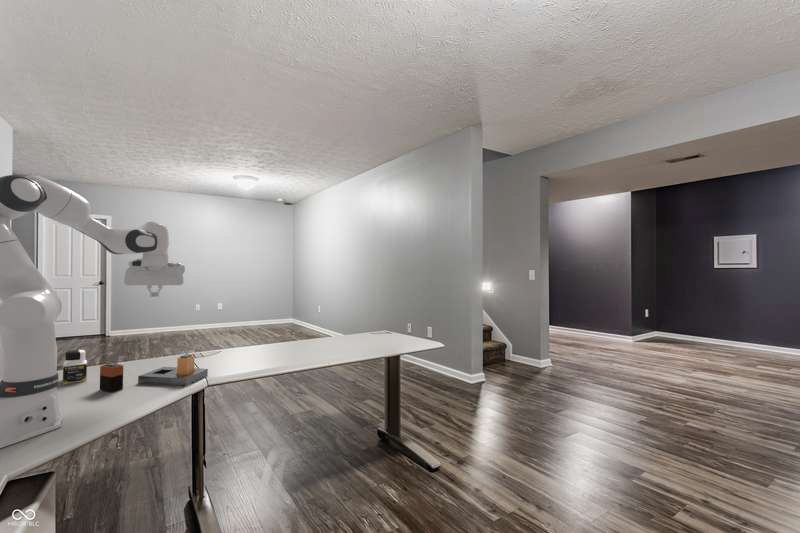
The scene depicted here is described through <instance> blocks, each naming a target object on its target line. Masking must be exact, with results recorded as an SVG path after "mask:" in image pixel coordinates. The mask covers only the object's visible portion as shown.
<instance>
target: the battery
mask: <svg viewBox="0 0 800 533" xmlns="http://www.w3.org/2000/svg"><path fill="white" fill-rule="evenodd" d="M99 368H100V370H99V390H100V391H103V392H107V393H114V392H117V391H121V390H123V389H124V365H123V364H119V362H111V361H110V362H106V363H105V364H103V365H100V366H99Z"/></svg>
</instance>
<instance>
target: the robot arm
mask: <svg viewBox="0 0 800 533" xmlns="http://www.w3.org/2000/svg"><path fill="white" fill-rule="evenodd" d="M32 211H33V212H36V213H39V214H40V215H42V216H44V217H46V218H48V219H50V220H52V221H55V222H57V223H60V224H62V225H65V226H68V227H70V228H72V229H73V230H76V231H78V232H79V233H81V234H83V235H86V236H87V237H89V238H90V239H93V240H95V241H96V242H98V243H99V244H100V245H101V246H102V247H103V248H104V249H105V250H106V251H107V252H109V253H110V254H113V255H124V254H126V255H127V254H129V255H130V254H135V255H137V254H142V257H141V258H137V259H134V260H129V261H128V266H129V267H127V268H126V270H125V273H124V279H123V280H124V281H123V282H124V284H125V285H126V286H146V289H147V290H148V292H149V296H150V298H151V297H152V298H153V297H158V298H159V297H160V292H161V291H162V289H163V286H182V285H183V284H184V282H185V281H184V280H185V279H184V273H185V272H186V271H185V270H186V269H185V268H186V267H185V265H184V264H182V263H178V262H176V263H175V262H169V251H168V248H169V245H170V244H169V242H170V234H169V230H168V228H167V226H166V225H164V224H163V223H160V222H154V221H153V222H152V221H148V222H145V223H144V224H142V225H141V226H137V227H132V228H122V229H121V228H112V227H109V226H107V225H106V224H103V223H102V222H100V221H98V220H97V219H94V218H93V217H92V216H91V212H92V208H91V204H90V202H89V201H88V200H86V199H85V198H84V197H82V195H80V194H78V193H76V192H75V191H73V190H72V189H70V188H67V187H65V186H64V185H61V184H60V183H57V182H55V181H53V180H50V179H48V178H45V177H42V176H40V175H33V174H31V175H30V174H29V175H26V176H24V175H19V174H9V175H4V176H1V177H0V300H1V303H0V340H1V346H2V354H3V355H2V357H3V358H2V379H1V380H0V449H2V448H6V447H7V446H10V445H14V444H16V443H19V442H22V441H25V440H28V439H30V438H34V437H37V436H40V435H42V434H45V433H48V432H50V431H53V430H56V429H59V428H61V427H62V422H63V416H62V413H61V409H60V405H59V404H60V403H59V399H58V398H59V397H58V390H57V387H58V386H59V381H60V379H59V373H58V372H57V371H58V370H57V368H58V366H57V365H58V346H57V339H56V330H55V320H56V319H57V318H58V317H59V316H60V314H61V312H62V310H63V303H62V301H61V299H60V297H59V296H58V294H57V293H56V292H55V290H54V289H53V287H52V286H51V284H50V283H49V282H48V281H47V279H46V278H45V277H44V276H43V274H42V273H41V272H40V271H39V269H38V268H37V267H36V265H35V264H34V262H33V260H32V259H31V257H30V256H29V254H28V253H27V251H26V249H25V247H24V246H23V245H22V243H21V241H20V239H19V238H18V236H17V235H16V234H15V232H14V231H13V230H12V228H11V221H13V220H16V219H18V218H21V217H23V216H24V215H26V214H28V213H30V212H32ZM153 286H157V289H158V290H157V291H153V290H152V288H153Z"/></svg>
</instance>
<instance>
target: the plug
mask: <svg viewBox="0 0 800 533" xmlns="http://www.w3.org/2000/svg"><path fill="white" fill-rule="evenodd" d="M176 359H177V363H176V364H177V366H176V367H177V375H189V374H191V373H193V372H194V368H195V355H193V354H189V353H188V354H187V353H186V354H182V355H179V357H177V358H176Z"/></svg>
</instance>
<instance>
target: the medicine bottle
mask: <svg viewBox="0 0 800 533" xmlns="http://www.w3.org/2000/svg"><path fill="white" fill-rule="evenodd" d="M64 357H65V359H64V361H65V362H63V364H62V384H63V385H66V384H74V383H82V382H87V381H88V379H87V378H88V360H86V350H84V349H73V350H68V351H66V352H65V356H64Z"/></svg>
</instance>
